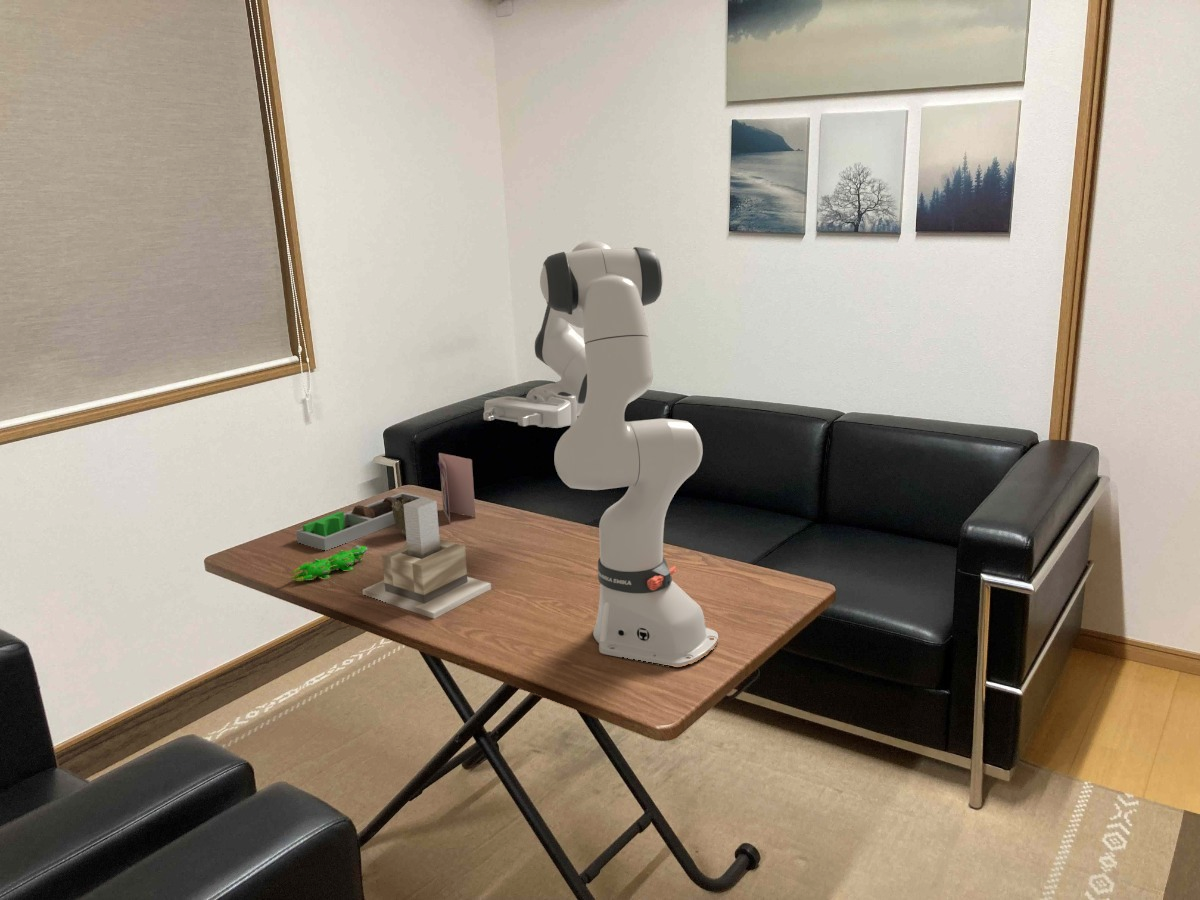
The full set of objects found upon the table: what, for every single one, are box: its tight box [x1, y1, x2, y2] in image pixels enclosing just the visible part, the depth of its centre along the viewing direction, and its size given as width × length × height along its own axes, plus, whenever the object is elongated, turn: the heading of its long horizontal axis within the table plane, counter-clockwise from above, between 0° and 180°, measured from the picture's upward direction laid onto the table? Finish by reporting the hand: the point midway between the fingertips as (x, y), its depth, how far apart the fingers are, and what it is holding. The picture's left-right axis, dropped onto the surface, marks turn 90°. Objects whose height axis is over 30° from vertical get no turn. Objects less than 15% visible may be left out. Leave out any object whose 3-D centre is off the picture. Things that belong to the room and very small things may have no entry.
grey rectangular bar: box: [403, 496, 441, 559], centre depth 185 cm, size 4×5×16 cm
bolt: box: [351, 496, 406, 519], centre depth 232 cm, size 6×5×15 cm
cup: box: [391, 498, 415, 537], centre depth 219 cm, size 8×7×8 cm
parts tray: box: [295, 491, 431, 552], centre depth 227 cm, size 10×33×3 cm, turn 144°
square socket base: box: [362, 539, 492, 620], centre depth 187 cm, size 20×16×9 cm
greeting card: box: [436, 452, 476, 523], centre depth 230 cm, size 11×7×15 cm, turn 18°
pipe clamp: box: [302, 511, 346, 537], centre depth 220 cm, size 11×4×5 cm, turn 146°
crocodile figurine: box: [290, 544, 368, 582], centre depth 200 cm, size 7×18×4 cm, turn 137°
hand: (502, 419), depth 192 cm, fingers open, 8 cm apart
